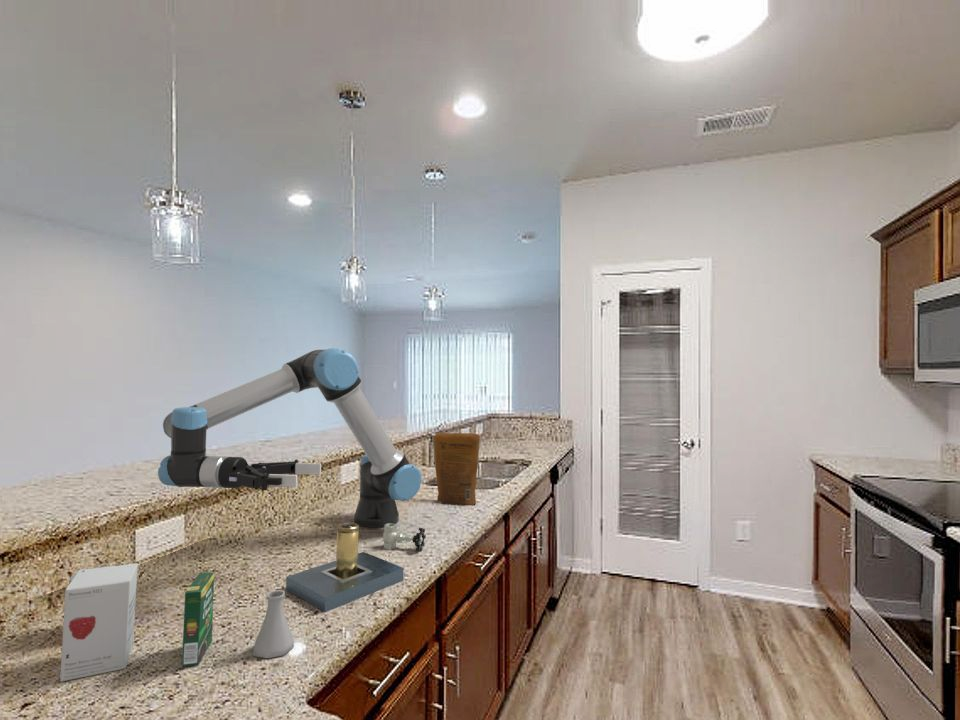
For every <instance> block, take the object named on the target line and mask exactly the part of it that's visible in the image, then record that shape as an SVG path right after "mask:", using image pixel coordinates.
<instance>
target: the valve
mask: <svg viewBox="0 0 960 720" xmlns="http://www.w3.org/2000/svg"><path fill="white" fill-rule="evenodd" d="M383 529H384V531H383V534H382V539H383V540H382V541H383V549H384V550H389V551H390V550H394V549H396V548H397V543H398V544H402V543H403V542H404V541H405V542H411V541H412V543H414V546H415V551H418V552H423V547H425V544H426V543H425V540H426V534H425V533H426V529H425V528H423V527H419V528H418V531H419V532H416V534H415V535H413V536H412V535H411V534H404V532H403V531H398V532H397V523H395V524H393V523H388V524H385V525H384V527H383Z"/></svg>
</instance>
